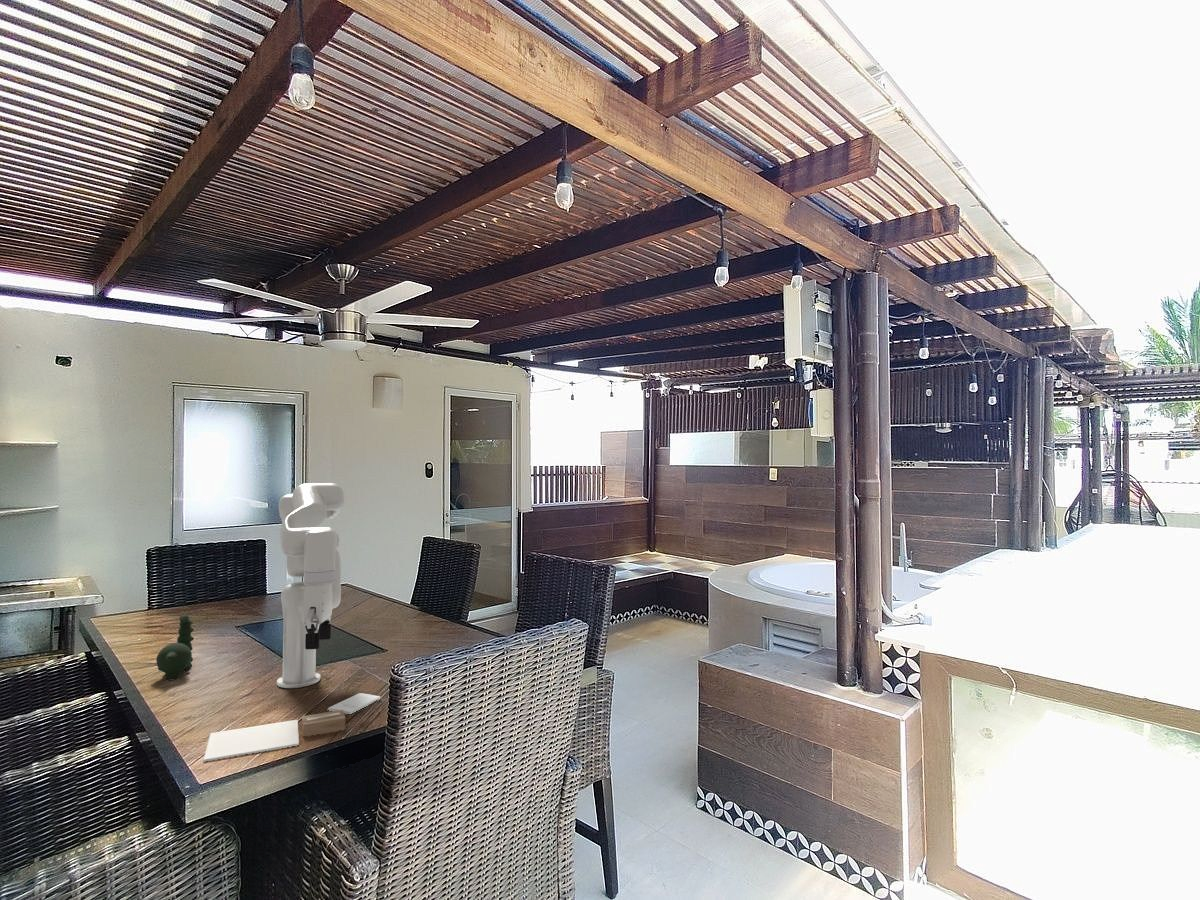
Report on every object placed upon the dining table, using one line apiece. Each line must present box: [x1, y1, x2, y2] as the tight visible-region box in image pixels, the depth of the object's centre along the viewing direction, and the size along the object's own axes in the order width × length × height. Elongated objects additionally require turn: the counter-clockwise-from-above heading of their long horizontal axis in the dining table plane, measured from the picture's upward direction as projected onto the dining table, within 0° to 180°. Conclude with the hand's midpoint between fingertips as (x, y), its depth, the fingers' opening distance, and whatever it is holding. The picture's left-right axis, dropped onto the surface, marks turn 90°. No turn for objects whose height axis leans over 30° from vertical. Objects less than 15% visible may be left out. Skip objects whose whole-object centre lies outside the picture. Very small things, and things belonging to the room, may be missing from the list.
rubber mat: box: [203, 719, 300, 763], centre depth 157 cm, size 16×20×1 cm
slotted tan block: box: [301, 710, 346, 737], centre depth 164 cm, size 6×10×4 cm, turn 118°
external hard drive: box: [327, 692, 382, 715], centre depth 181 cm, size 2×8×12 cm
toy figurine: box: [155, 613, 194, 681], centre depth 207 cm, size 9×19×25 cm
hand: (318, 643), depth 162 cm, fingers open, 9 cm apart
